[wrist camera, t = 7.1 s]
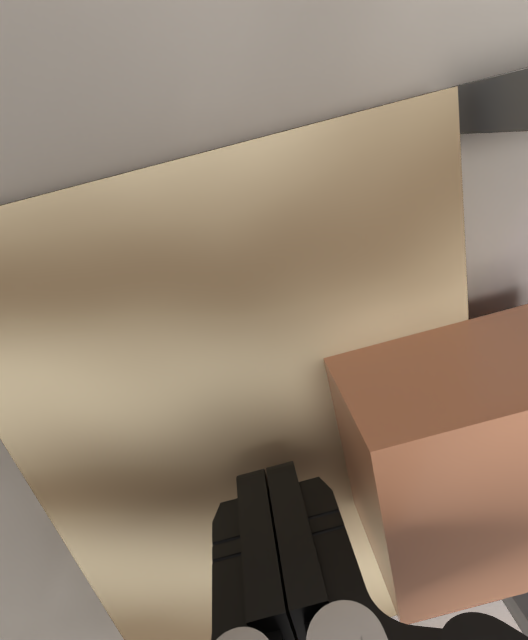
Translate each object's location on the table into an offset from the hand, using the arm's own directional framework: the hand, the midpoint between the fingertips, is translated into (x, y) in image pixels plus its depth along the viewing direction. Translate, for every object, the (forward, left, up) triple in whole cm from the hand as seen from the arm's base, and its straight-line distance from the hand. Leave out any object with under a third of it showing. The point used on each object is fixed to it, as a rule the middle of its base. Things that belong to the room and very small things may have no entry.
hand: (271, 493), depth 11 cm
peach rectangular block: (0, +5, -1) cm, 5 cm away
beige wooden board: (0, 0, -2) cm, 2 cm away
